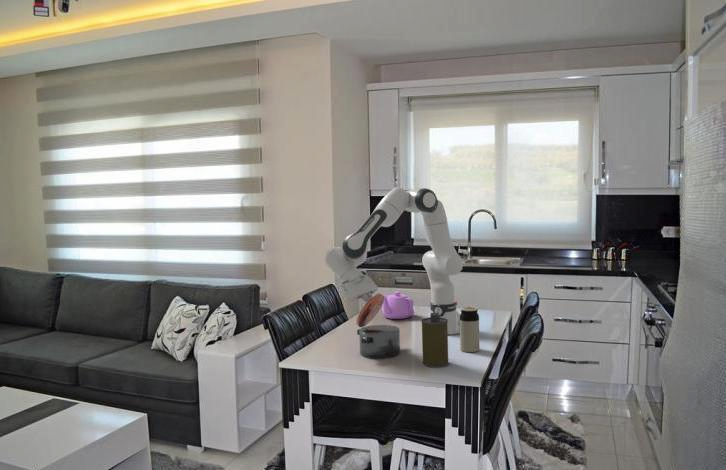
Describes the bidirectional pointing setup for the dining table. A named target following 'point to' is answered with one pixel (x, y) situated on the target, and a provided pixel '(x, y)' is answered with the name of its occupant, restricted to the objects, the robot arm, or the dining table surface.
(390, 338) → the cooker pot
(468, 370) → the dining table surface
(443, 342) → the canister
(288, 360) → the dining table surface
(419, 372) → the dining table surface
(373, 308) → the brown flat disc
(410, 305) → the teapot
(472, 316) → the travel mug
